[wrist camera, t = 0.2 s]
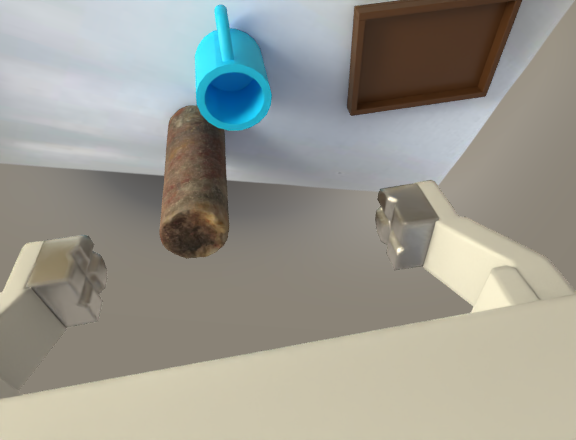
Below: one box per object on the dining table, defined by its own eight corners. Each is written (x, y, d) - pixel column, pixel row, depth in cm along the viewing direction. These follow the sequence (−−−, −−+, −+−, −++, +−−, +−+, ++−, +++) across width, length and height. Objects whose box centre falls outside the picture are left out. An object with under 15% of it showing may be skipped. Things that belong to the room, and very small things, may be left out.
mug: (265, 88, 51) (274, 125, 46) (202, 96, 51) (204, 135, 45) (256, -13, 42) (265, 20, 37) (179, -5, 41) (178, 30, 36)
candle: (159, 135, 54) (150, 252, 41) (177, 91, 50) (173, 208, 37) (211, 152, 58) (218, 264, 45) (232, 112, 53) (246, 225, 40)
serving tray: (354, 5, 45) (359, 13, 44) (515, -15, 46) (525, -8, 45) (346, 107, 56) (350, 116, 54) (478, 88, 57) (485, 96, 56)
